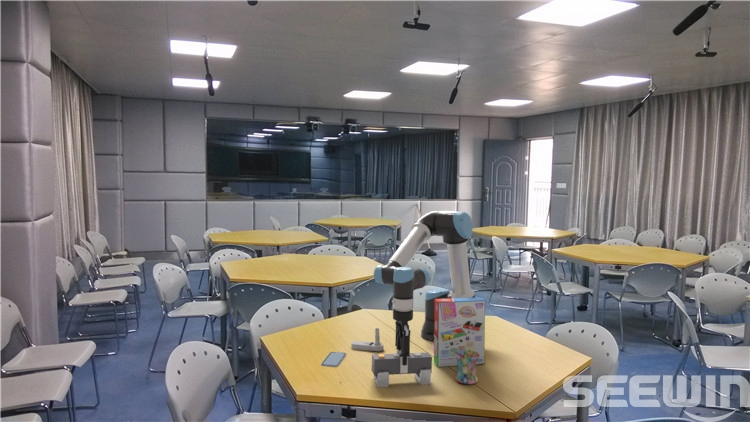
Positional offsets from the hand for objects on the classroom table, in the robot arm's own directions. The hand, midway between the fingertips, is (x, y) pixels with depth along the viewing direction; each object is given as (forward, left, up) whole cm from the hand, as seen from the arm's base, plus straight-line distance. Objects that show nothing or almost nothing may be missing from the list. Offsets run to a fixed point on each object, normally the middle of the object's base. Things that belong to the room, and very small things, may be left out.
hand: (401, 369), depth 179 cm
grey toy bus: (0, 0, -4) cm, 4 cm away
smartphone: (+23, -26, -5) cm, 35 cm away
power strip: (0, 0, -1) cm, 1 cm away
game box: (-28, -14, -5) cm, 32 cm away
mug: (-24, +5, -5) cm, 25 cm away
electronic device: (+7, -38, -5) cm, 39 cm away
